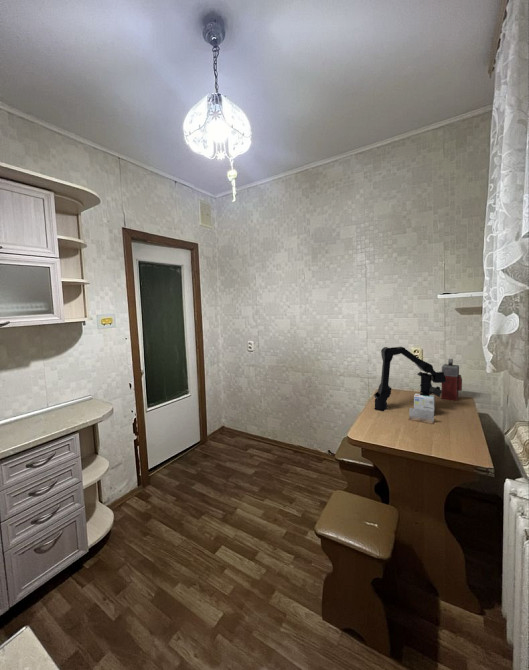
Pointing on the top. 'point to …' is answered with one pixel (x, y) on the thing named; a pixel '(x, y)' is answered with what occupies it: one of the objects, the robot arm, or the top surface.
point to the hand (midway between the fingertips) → (425, 407)
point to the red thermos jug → (451, 381)
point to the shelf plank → (421, 420)
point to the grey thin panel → (421, 414)
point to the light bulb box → (424, 402)
